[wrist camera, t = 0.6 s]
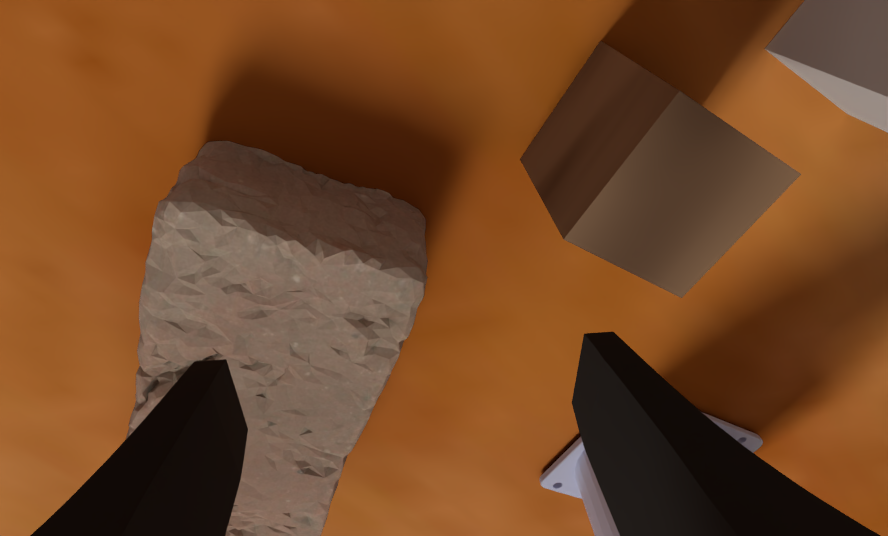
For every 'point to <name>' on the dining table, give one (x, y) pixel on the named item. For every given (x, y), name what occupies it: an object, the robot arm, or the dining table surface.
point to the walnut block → (648, 173)
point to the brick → (280, 316)
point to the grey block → (840, 54)
